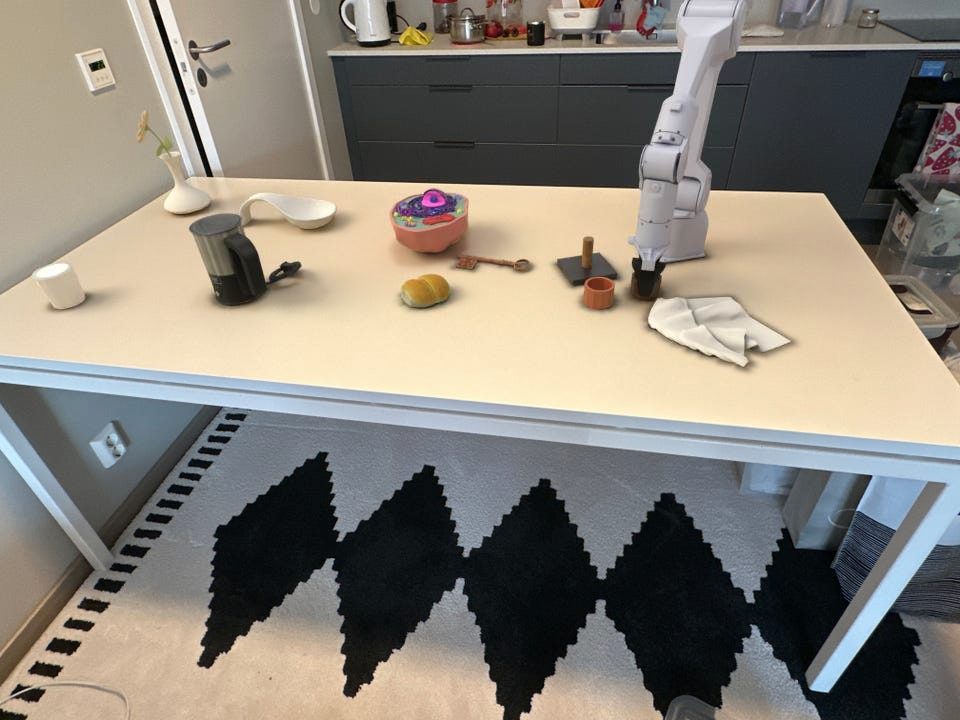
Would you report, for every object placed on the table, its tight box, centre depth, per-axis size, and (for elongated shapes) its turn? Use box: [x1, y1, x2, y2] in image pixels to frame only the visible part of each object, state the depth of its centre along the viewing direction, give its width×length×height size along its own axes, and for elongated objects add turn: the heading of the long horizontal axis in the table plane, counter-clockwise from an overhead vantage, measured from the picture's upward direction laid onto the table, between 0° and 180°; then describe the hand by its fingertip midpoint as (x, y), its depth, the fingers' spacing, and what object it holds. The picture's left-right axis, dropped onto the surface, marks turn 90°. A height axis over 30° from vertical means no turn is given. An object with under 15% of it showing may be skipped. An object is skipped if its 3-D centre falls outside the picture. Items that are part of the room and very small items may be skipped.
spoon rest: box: [238, 192, 338, 230], centre depth 137 cm, size 24×12×7 cm, turn 83°
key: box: [455, 254, 531, 272], centre depth 117 cm, size 6×1×15 cm
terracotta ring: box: [582, 277, 616, 310], centre depth 104 cm, size 5×5×4 cm
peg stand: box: [556, 235, 618, 287], centre depth 112 cm, size 9×9×7 cm
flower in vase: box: [136, 109, 212, 215], centre depth 141 cm, size 13×11×25 cm
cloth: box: [647, 296, 791, 368], centre depth 96 cm, size 20×22×2 cm
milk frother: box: [188, 212, 303, 306], centre depth 111 cm, size 14×16×15 cm
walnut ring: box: [629, 272, 663, 302], centre depth 106 cm, size 5×5×4 cm
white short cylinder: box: [31, 261, 86, 310], centre depth 112 cm, size 7×7×7 cm
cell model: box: [388, 187, 470, 254], centre depth 123 cm, size 17×20×11 cm
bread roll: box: [400, 273, 451, 308], centre depth 108 cm, size 8×9×4 cm
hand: (645, 286), depth 106 cm, fingers closed on walnut ring, 5 cm apart
